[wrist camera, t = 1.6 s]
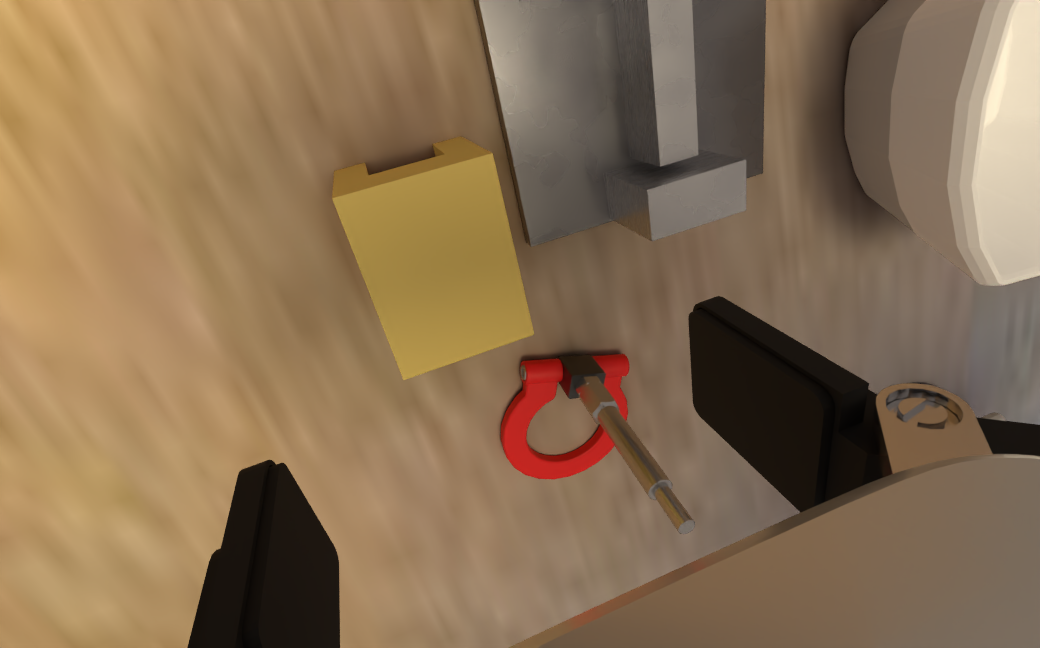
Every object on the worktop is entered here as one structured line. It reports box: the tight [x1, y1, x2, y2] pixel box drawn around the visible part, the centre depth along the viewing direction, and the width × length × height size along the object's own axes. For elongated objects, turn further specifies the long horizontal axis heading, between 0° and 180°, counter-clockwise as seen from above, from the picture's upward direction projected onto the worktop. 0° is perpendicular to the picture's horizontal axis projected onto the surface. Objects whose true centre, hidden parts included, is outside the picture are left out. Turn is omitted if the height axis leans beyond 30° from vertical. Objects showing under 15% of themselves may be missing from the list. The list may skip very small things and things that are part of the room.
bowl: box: [845, 0, 1040, 286], centre depth 27 cm, size 18×18×9 cm
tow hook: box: [501, 354, 695, 534], centre depth 28 cm, size 8×13×9 cm
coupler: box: [474, 0, 766, 247], centre depth 22 cm, size 14×18×5 cm
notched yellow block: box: [332, 136, 534, 380], centre depth 23 cm, size 6×8×6 cm
